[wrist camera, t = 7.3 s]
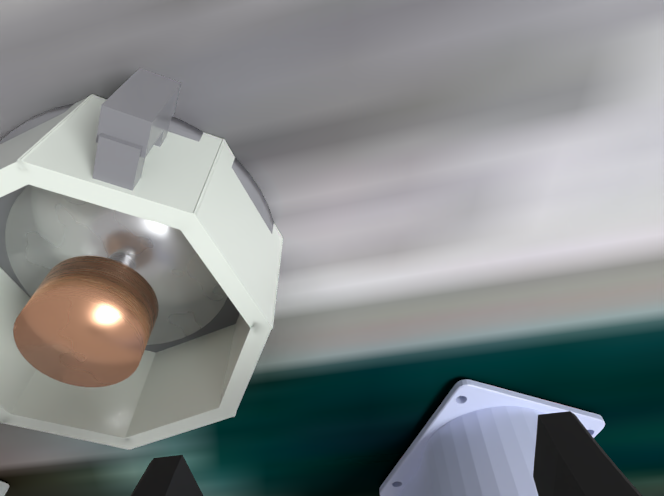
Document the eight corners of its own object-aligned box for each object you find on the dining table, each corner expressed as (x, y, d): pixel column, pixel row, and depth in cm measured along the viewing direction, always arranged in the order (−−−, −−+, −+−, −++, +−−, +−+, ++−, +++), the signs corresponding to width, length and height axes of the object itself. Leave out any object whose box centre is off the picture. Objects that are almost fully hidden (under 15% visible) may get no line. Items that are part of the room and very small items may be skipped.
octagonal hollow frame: (234, 371, 24) (216, 471, 20) (-23, 307, 22) (-103, 404, 18) (334, 121, 18) (338, 192, 14) (-15, -6, 15) (-138, 32, 11)
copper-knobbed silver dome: (206, 355, 22) (182, 451, 19) (7, 305, 21) (-64, 399, 17) (260, 201, 18) (243, 282, 14) (18, 123, 17) (-71, 192, 13)
